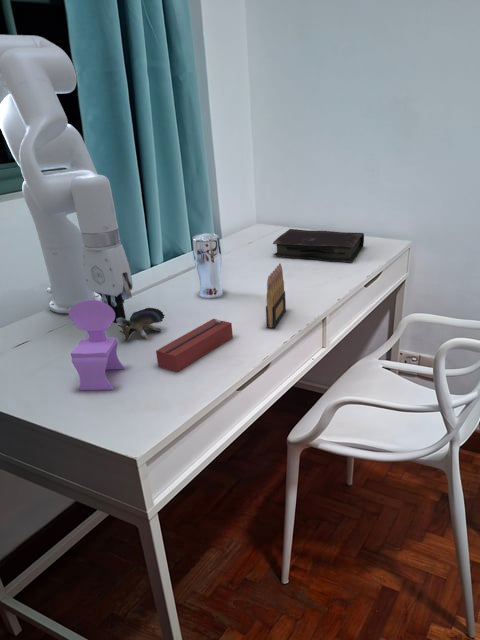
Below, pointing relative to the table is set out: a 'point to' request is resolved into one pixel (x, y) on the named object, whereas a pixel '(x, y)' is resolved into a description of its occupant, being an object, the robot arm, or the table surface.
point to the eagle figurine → (140, 322)
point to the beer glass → (208, 264)
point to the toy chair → (94, 344)
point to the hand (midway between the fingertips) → (118, 320)
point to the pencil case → (194, 345)
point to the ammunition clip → (275, 298)
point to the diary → (319, 245)
